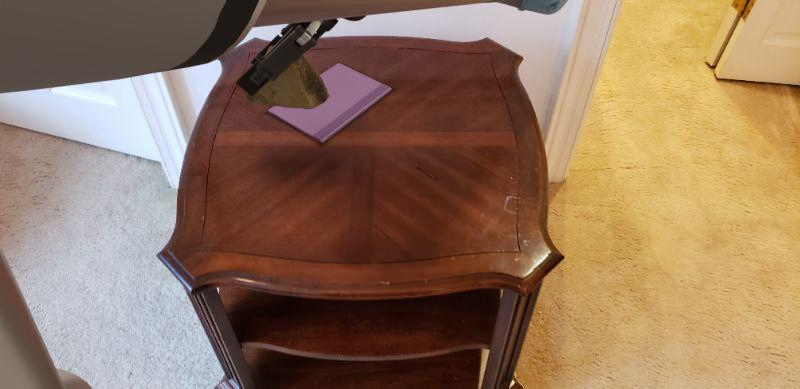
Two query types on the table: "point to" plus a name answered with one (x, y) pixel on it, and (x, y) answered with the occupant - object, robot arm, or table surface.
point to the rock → (293, 88)
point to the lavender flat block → (335, 103)
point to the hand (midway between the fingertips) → (252, 77)
